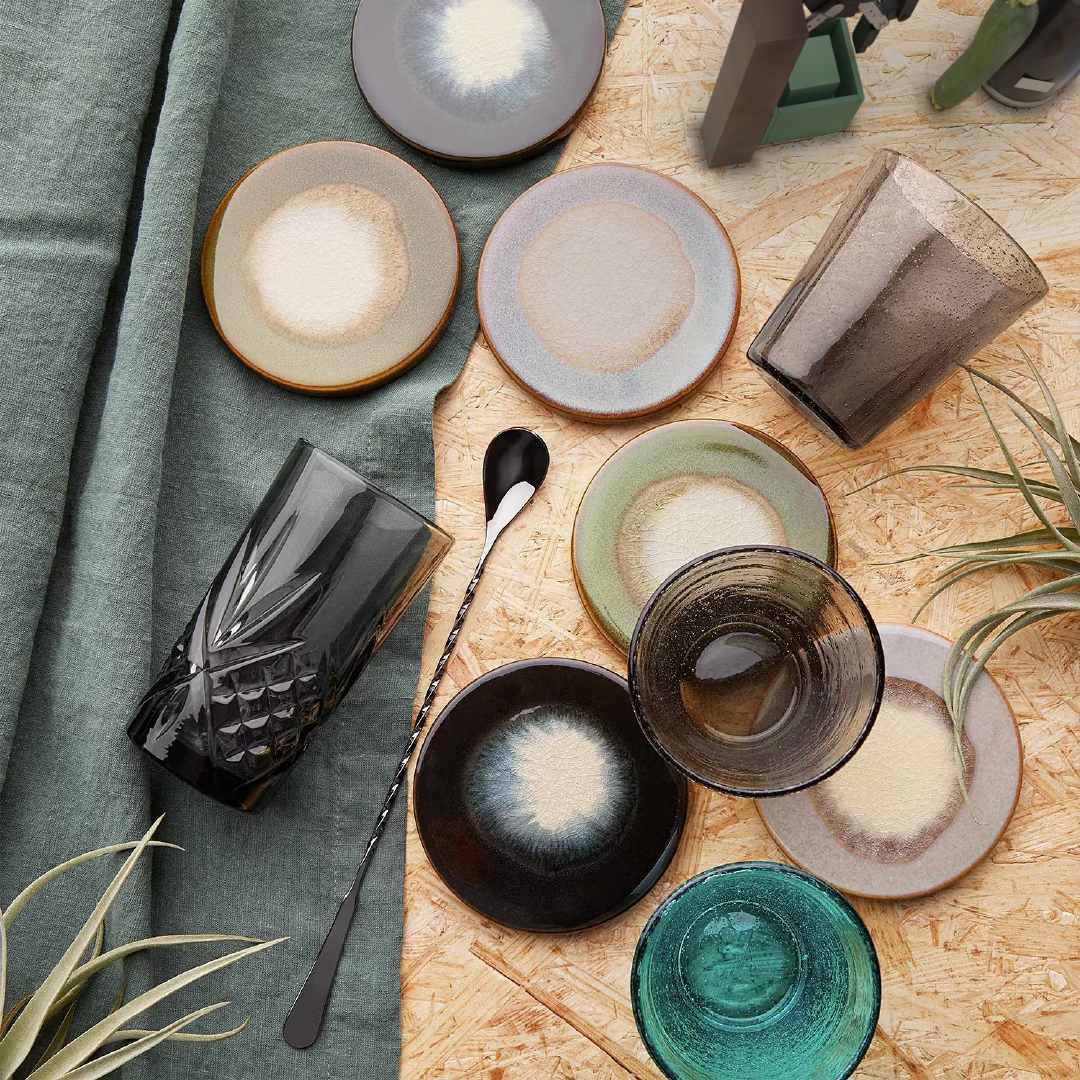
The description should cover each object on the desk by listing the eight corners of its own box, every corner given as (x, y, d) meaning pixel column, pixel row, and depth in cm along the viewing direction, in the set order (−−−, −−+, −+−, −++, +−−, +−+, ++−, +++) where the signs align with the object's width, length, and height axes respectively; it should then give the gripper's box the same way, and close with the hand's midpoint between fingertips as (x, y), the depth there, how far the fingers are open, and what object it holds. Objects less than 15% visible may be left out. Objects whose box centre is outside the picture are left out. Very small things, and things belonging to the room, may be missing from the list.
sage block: (813, 65, 96) (829, 34, 91) (824, 110, 95) (840, 81, 90) (766, 74, 96) (779, 42, 91) (776, 119, 95) (790, 90, 90)
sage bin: (826, 47, 97) (844, 11, 91) (845, 130, 96) (865, 98, 90) (740, 62, 96) (753, 27, 91) (758, 145, 95) (773, 114, 90)
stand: (741, 121, 96) (798, -16, 76) (750, 161, 95) (809, 34, 75) (699, 128, 96) (745, -7, 76) (708, 168, 95) (756, 43, 75)
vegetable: (964, 90, 96) (1078, -53, 77) (962, 129, 96) (1076, -5, 76) (922, 86, 96) (1024, -59, 76) (919, 125, 96) (1022, -10, 76)
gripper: (799, -21, 72) (749, 101, 88) (976, -50, 73) (895, 76, 89) (778, -108, 73) (733, 28, 89) (954, -136, 73) (877, 4, 90)
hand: (814, 52), depth 89 cm, fingers open, 8 cm apart
